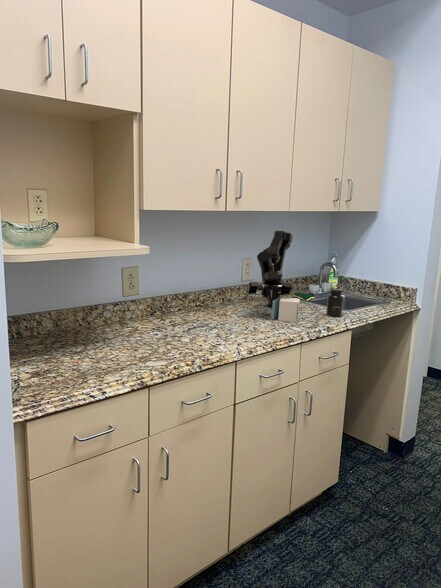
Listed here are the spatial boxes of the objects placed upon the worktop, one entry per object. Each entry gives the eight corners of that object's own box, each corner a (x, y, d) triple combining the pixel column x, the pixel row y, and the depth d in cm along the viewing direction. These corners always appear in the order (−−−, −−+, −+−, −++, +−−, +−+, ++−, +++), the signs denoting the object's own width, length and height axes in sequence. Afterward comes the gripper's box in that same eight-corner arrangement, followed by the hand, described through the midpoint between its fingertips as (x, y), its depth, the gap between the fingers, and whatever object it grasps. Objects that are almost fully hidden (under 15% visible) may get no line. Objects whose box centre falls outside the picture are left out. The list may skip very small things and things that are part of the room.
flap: (276, 314, 203) (277, 297, 201) (280, 315, 202) (281, 297, 201) (270, 319, 194) (271, 300, 193) (273, 319, 194) (274, 301, 192)
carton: (280, 316, 202) (281, 297, 200) (298, 317, 200) (299, 298, 198) (278, 320, 193) (279, 300, 192) (297, 322, 191) (298, 302, 190)
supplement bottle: (335, 317, 203) (337, 291, 201) (323, 314, 208) (325, 289, 206) (344, 316, 207) (347, 290, 205) (332, 313, 212) (334, 287, 210)
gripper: (250, 263, 195) (253, 294, 186) (292, 264, 197) (297, 294, 188) (246, 278, 204) (249, 308, 195) (286, 279, 206) (291, 308, 197)
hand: (271, 304), depth 194 cm, fingers closed
